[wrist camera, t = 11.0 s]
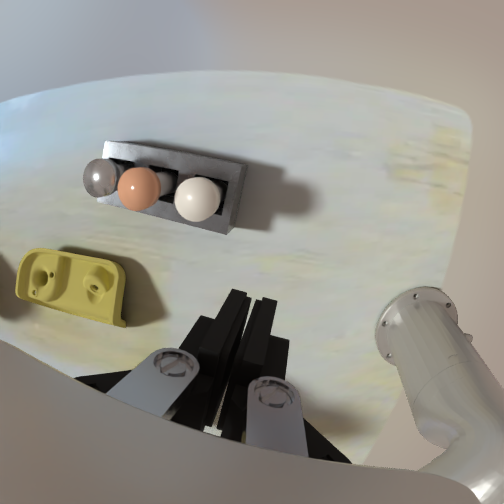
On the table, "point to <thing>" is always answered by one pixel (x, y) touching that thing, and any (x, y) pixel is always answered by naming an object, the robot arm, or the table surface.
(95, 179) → the grey plunger
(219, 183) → the ivory plunger
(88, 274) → the plastic component
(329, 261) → the table surface
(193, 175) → the grey socket block
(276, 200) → the table surface
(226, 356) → the robot arm
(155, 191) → the terracotta plunger
